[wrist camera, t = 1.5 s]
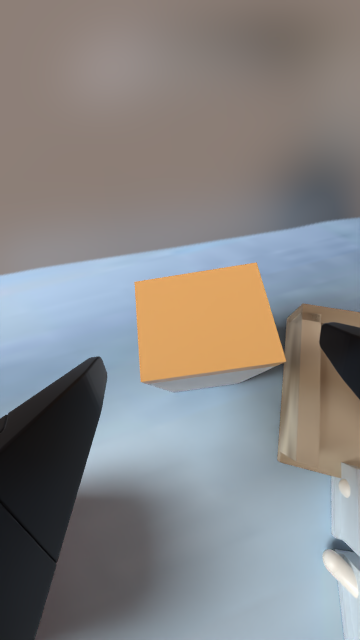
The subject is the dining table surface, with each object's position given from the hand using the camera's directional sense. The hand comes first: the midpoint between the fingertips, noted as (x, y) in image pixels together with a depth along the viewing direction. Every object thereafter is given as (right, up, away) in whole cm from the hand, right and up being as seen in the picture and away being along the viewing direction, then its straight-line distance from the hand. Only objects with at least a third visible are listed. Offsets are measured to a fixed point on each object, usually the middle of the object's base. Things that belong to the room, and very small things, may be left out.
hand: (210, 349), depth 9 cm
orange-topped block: (0, -2, +9) cm, 9 cm away
